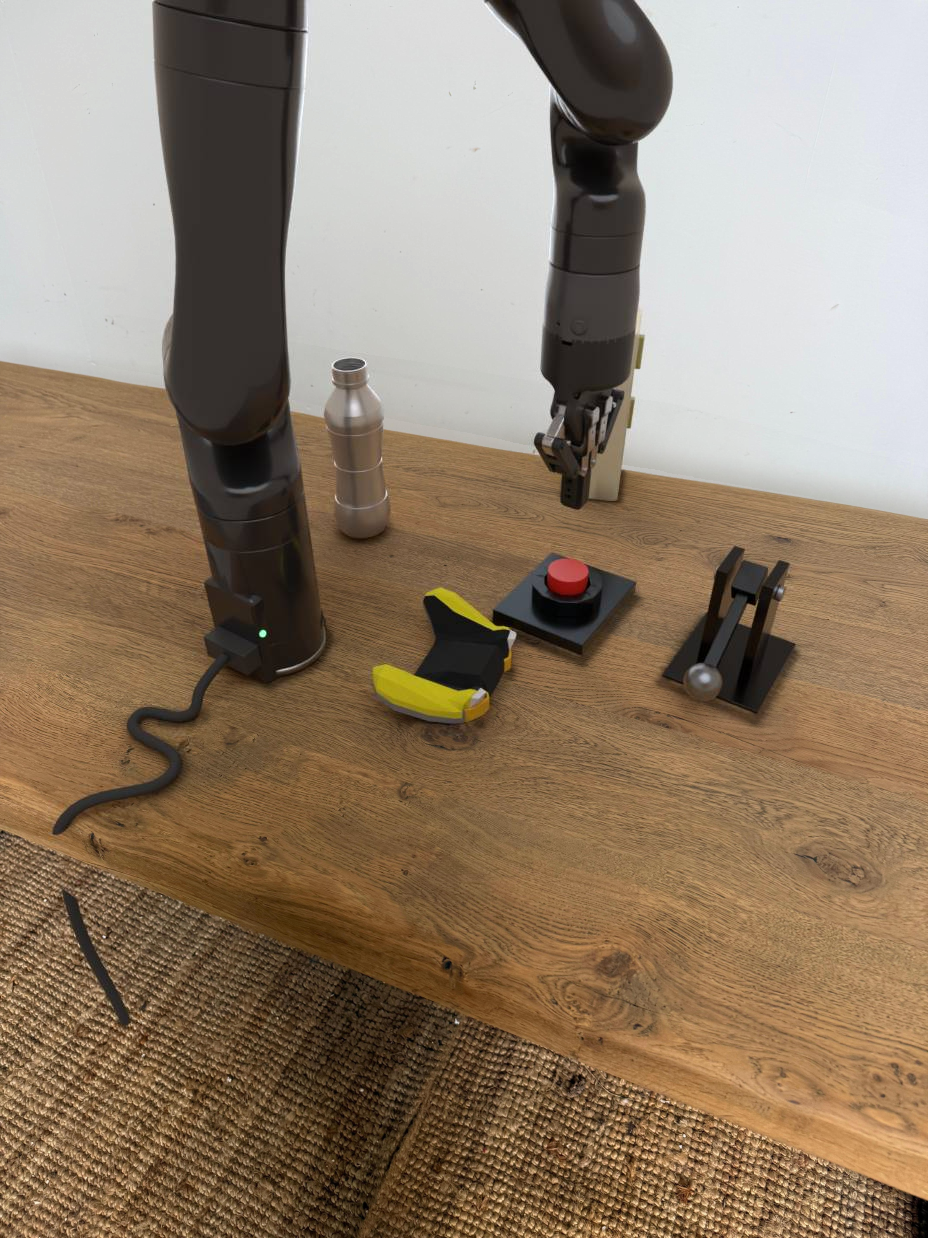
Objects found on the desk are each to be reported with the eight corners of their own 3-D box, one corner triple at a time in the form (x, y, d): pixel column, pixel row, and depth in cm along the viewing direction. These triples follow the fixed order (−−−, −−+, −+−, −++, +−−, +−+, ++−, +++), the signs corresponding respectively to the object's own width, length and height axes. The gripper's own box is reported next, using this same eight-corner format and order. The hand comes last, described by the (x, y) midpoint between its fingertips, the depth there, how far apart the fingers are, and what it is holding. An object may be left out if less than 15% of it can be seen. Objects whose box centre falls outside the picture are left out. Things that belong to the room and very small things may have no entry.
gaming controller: (365, 721, 77) (470, 752, 74) (360, 675, 73) (470, 706, 70) (432, 622, 87) (526, 645, 85) (431, 578, 84) (528, 600, 81)
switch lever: (714, 711, 73) (712, 699, 71) (678, 697, 75) (675, 684, 72) (773, 583, 77) (774, 567, 74) (738, 571, 78) (737, 555, 75)
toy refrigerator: (623, 503, 105) (645, 333, 92) (563, 497, 106) (576, 328, 93) (627, 471, 111) (648, 307, 98) (570, 466, 112) (583, 303, 99)
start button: (575, 601, 84) (576, 586, 83) (539, 587, 86) (540, 573, 85) (594, 580, 87) (595, 566, 86) (559, 568, 88) (560, 553, 87)
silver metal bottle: (326, 538, 99) (304, 372, 87) (353, 509, 104) (337, 348, 92) (376, 550, 97) (361, 381, 85) (401, 520, 102) (391, 356, 90)
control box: (580, 662, 82) (584, 630, 80) (492, 626, 87) (492, 595, 84) (634, 598, 90) (638, 567, 88) (550, 568, 95) (552, 537, 92)
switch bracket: (755, 721, 76) (785, 617, 69) (660, 683, 80) (679, 581, 73) (793, 652, 83) (824, 551, 76) (704, 620, 87) (725, 521, 80)
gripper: (585, 287, 75) (571, 464, 86) (507, 335, 67) (502, 525, 78) (665, 303, 72) (640, 485, 83) (594, 356, 64) (576, 550, 75)
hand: (573, 504), depth 80 cm, fingers closed
